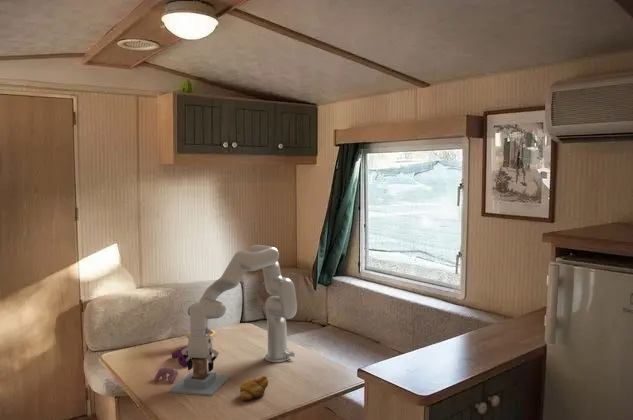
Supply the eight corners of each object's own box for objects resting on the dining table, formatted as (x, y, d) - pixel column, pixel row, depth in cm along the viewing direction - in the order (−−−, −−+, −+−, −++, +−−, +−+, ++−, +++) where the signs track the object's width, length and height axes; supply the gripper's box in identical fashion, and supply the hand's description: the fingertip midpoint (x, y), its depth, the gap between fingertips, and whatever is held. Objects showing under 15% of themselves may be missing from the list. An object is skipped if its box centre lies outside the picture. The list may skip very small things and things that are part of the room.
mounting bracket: (172, 371, 258) (186, 365, 245) (168, 355, 260) (182, 347, 247) (189, 367, 264) (203, 360, 251) (185, 350, 266) (200, 343, 253)
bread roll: (247, 404, 206) (247, 385, 205) (232, 398, 212) (231, 379, 211) (270, 394, 215) (270, 375, 215) (255, 388, 222) (254, 370, 221)
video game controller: (177, 384, 230) (180, 368, 233) (171, 383, 226) (175, 367, 229) (158, 382, 233) (162, 366, 236) (152, 381, 229) (156, 365, 232)
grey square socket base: (230, 377, 234) (230, 369, 233) (212, 396, 214) (211, 387, 214) (189, 374, 238) (189, 366, 238) (168, 392, 218) (168, 383, 218)
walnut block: (207, 381, 228) (206, 357, 227) (202, 385, 223) (202, 360, 223) (198, 380, 229) (197, 356, 228) (193, 384, 224) (192, 359, 224)
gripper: (221, 330, 226) (222, 368, 227) (185, 328, 230) (186, 365, 231) (214, 335, 219) (215, 374, 220) (177, 333, 223) (178, 371, 224)
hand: (200, 369), depth 226 cm, fingers open, 9 cm apart
